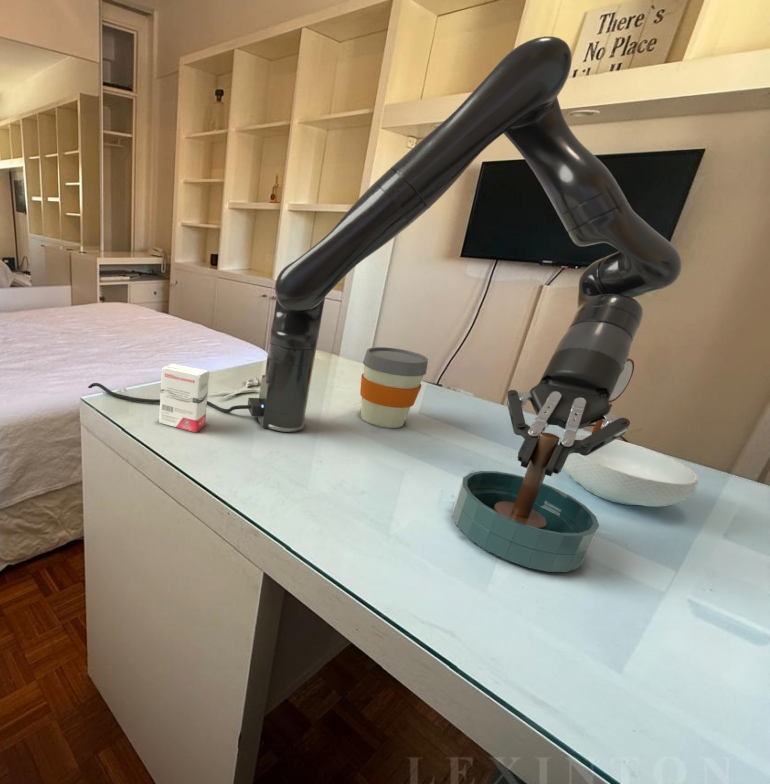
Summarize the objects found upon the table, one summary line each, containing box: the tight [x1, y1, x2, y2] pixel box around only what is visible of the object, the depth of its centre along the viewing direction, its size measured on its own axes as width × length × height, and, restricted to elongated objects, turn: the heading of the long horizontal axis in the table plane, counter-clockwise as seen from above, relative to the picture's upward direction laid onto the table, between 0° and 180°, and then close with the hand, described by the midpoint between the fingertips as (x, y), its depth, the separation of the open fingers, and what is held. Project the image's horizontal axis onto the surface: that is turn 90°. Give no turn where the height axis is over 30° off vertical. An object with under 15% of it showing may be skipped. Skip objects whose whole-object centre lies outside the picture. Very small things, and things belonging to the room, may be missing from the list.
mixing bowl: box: [451, 470, 600, 573], centre depth 63 cm, size 15×15×6 cm
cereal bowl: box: [562, 433, 699, 507], centre depth 76 cm, size 17×17×7 cm
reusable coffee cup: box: [359, 346, 429, 429], centre depth 99 cm, size 13×13×15 cm
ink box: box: [158, 363, 210, 433], centre depth 90 cm, size 8×5×12 cm, turn 63°
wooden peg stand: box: [493, 432, 561, 530], centre depth 61 cm, size 6×6×14 cm
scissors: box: [209, 376, 260, 400], centre depth 112 cm, size 11×1×20 cm
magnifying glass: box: [590, 357, 635, 435], centre depth 87 cm, size 9×2×20 cm, turn 117°
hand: (536, 468), depth 58 cm, fingers closed on wooden peg stand
